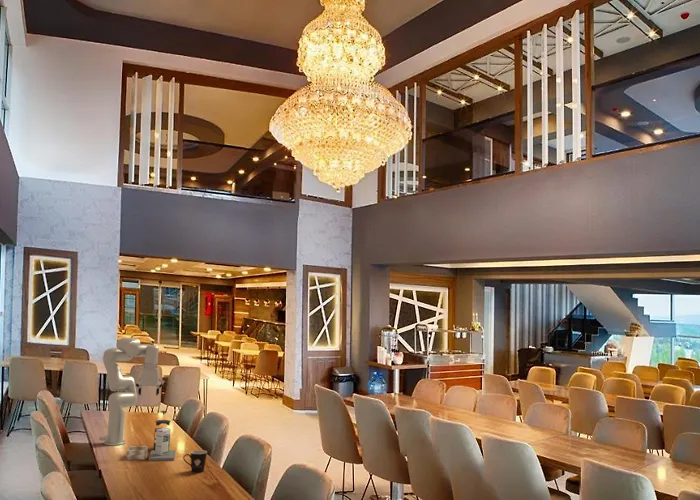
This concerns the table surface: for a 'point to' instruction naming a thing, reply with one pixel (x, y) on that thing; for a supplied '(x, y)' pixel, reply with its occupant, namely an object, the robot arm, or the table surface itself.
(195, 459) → the coffee mug
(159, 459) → the slate board
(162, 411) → the french press
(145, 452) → the frame
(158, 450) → the syrup box
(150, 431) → the table surface
